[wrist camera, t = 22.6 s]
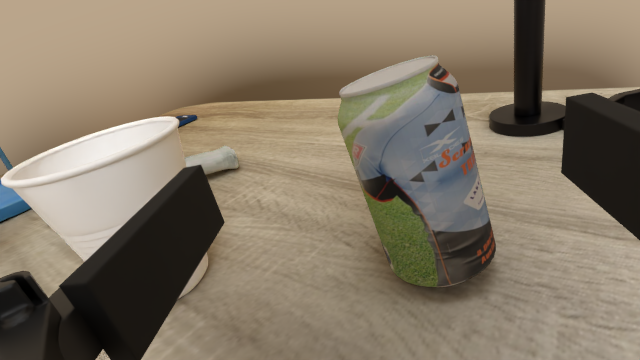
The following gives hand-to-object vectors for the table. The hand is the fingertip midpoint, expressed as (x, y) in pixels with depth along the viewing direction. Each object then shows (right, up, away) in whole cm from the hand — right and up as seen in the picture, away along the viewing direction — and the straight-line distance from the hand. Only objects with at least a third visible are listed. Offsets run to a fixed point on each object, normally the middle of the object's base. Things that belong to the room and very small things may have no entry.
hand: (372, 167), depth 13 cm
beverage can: (+5, -6, +9) cm, 11 cm away
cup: (-13, -8, +13) cm, 20 cm away
